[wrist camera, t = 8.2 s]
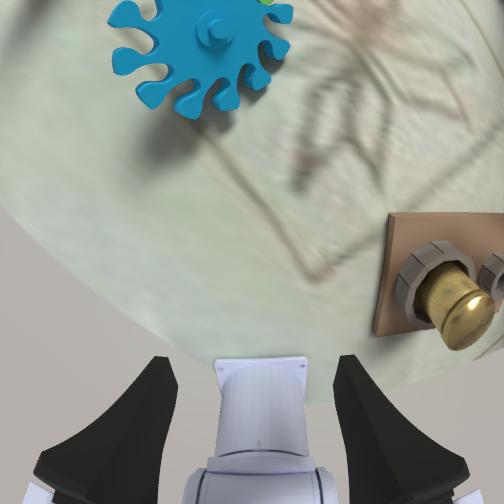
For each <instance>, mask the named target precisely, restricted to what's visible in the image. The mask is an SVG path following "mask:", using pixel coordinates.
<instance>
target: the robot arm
mask: <svg viewBox="0 0 504 504" xmlns="http://www.w3.org/2000/svg"><path fill="white" fill-rule="evenodd" d="M214 368H215V372H216V376H217V380H218V384H219V388H220V391H221V396H222V402H221V410H220V417H219V425H218V432H217V440H216V448H215V455H214V457H209V458H208V463H207V469H206V468H199V469H197V470H196V471H195V472H194V473H193V474H192V475H191V476H190V477H189V478H188V481H187V483H186V486H185V489H184V495H183V501H182V504H338V496H337V490H336V485H335V481H334V478H333V476H332V474H330V473H329V472H328V471H326V469H325V468H324V467H319V468H315V462H314V457H309V451H308V440H307V430H306V423H305V422H306V421H305V413H304V402H305V391H306V380H307V368H308V359H307V357H305V356H294V357H277V358H252V359H217V360H215V361H214ZM333 390H334V399H335V406H336V411H337V415H338V419H339V423H340V427H341V431H342V436H343V440H344V444H345V449H346V455H347V464H348V475H349V495H350V496H349V499H350V504H484V503H483V499H482V496H481V492H480V489H476V490H474V491H472V492H470V493H468V494H466V495H464V496H462V497H460V498H458V499H457V500H454V501H453V502H452V498H451V497H452V496H454V491H453V488H455V487H457V486H458V485H460V484H461V483H463V482H464V481H465V480H467V479H468V478H469V476H470V473H469V470H468V467H467V464H466V462H465V459H464V458H463V457H461V456H459V455H457V454H455V453H453V452H451V451H449V450H447V449H445V448H444V447H442V446H440V445H439V444H438V443H436V442H435V441H433V440H432V439H431V438H429V437H428V436H427V435H425V434H424V433H423V432H421V431H420V430H419V429H417V428H416V427H415V426H414V425H413V424H412V423H411V422H409V421H408V420H407V419H406V418H405V417H404V416H403V415H402V414H401V413H400V412H399V411H398V410H397V409H396V408H395V406H394V405H393V404H392V403H391V402H390V401H389V400H388V399H387V397H386V396H385V395H384V394H383V393H382V391H381V390H380V389H379V388H378V386H377V385H376V384H375V382H374V381H373V380H372V378H371V377H370V376H369V374H368V373H367V372H366V370H365V369H364V367H363V366H362V364H361V363H360V362H359V360H358V359H357V357H356V356H355V355H344V356H340V359H339V363H338V367H337V371H336V375H335V379H334V383H333ZM177 391H178V384H177V381H176V379H175V376H174V373H173V370H172V368H171V364H170V362H169V359H168V357H158V356H155V357H154V358H153V359H152V360H151V361H150V363H149V364H148V365H147V366H146V367H145V369H144V370H143V371H142V372H141V374H140V375H139V376H138V377H137V378H136V380H135V381H134V382H133V383H132V384H131V386H130V387H129V388H128V389H127V390H126V391H125V392H124V393H123V394H122V396H121V397H120V398H119V399H118V400H117V401H116V402H115V403H114V404H113V405H112V406H111V407H110V408H109V409H108V410H107V411H106V412H104V413H103V414H102V415H101V416H100V417H99V418H98V419H96V420H95V421H94V422H93V423H91V424H90V425H89V426H87V427H86V428H85V429H83V430H82V431H80V432H79V433H77V434H76V435H74V436H72V437H71V438H69V439H67V440H66V441H64V442H62V443H60V444H58V445H56V446H54V447H52V448H49V449H47V450H45V451H42V452H41V455H40V457H39V459H38V461H37V464H36V466H35V469H34V471H33V473H34V475H35V476H36V477H37V478H39V479H40V480H42V481H43V482H44V483H46V484H47V485H49V486H51V487H52V488H54V489H55V493H54V494H53V493H52V492H50V491H48V490H46V489H44V488H43V487H41V486H39V485H37V484H35V483H34V482H30V484H29V487H28V490H27V492H26V495H25V498H24V501H23V504H157V501H158V484H159V474H160V466H161V459H162V453H163V448H164V444H165V440H166V437H167V433H168V430H169V426H170V423H171V419H172V416H173V412H174V408H175V404H176V398H177Z"/></svg>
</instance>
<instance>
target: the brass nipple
mask: <svg viewBox="0 0 504 504" xmlns="http://www.w3.org/2000/svg"><path fill="white" fill-rule="evenodd" d="M414 297H415V299H416V300H417V301H418V303H419V304H420V305H421V307H422V308H423V309H424V311H425V312H426V314H427V315H428V316H429V318H430V319H431V321H432V322H433V323H434V325H435V326H436V328H437V329H438V331H439V332H440V334H441V337H442V339H443V341H444V342H445V344H446V345H447V347H448V348H449V349H450V350H453V351H459V350H462V349H465V348H467V347H469V346H470V345H472V344H473V343H475V342H476V341H477V340H478V339H479V338H480V337H481V336H482V335H483V334H484V333H485V331H486V330H487V329H488V327H489V325H490V324H491V322H492V320H493V317H494V314H495V308H496V306H495V301H494V300H493V298H492V297H491V296H490V295H489V294H488V293H487V292H486V291H484V290H482V289H481V288H480V287H479V286H478V285H477V284H476V283H475V282H473V281H472V280H471V279H470V278H469V277H468V276H467V275H466V274H465V273H464V272H463V271H462V270H461V269H460V268H459V267H458V266H456V265H455V264H454V263H453V262H452V261H451V260H450V261H443V262H442V263H440V264H439V265H437V266H436V267H435V268H433V269H432V270H430V271H429V272H428V273H427V274H426V276H425V277H424V279H423V280H422V281H421V283H420V284H419V286H418V287H417V288H416V292H415V296H414Z"/></svg>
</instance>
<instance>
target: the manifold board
mask: <svg viewBox="0 0 504 504" xmlns="http://www.w3.org/2000/svg"><path fill="white" fill-rule="evenodd" d="M450 260H451V261H452V262H453V263H454V264H455V265H456V266H458V267H459V268H460V269H461V270H462V271H463V272H464V273H465V274H466V275H467V276H468V277H469V278H470V279H471V280H472V281H473V282H475V283H476V284H477V285H478V286H479V287H480V288H481V289H482V290H484V291H486V292H487V293H488V294H489V295H490V296H491V297H492V298H493V300H494V301H495V306H496V308H495V313H496V312H499V309H500V307H501V304H502V301H503V299H504V213H389V223H388V234H387V243H386V252H385V260H384V267H383V274H382V281H381V287H380V293H379V299H378V304H377V309H376V315H375V320H374V324H373V329H372V330H373V332H374V334H375V336H376V337H380V336H387V335H393V334H400V333H406V332H411V331H417V330H423V329H424V330H427V329H432V328H436V326H435V325H434V323H433V322H432V321H431V319H430V318H429V316H428V315H427V314H426V312H425V311H424V309H423V308H422V307H421V305H420V304H419V303H418V301H417V300H416V299H415V297H414V296H415V292H416V288H417V287H418V286H419V284H420V283H421V281H422V280H423V279H424V277H425V276H426V274H427V273H428V272H429V271H430V270H432V269H433V268H435V267H436V266H437V265H439V264H440V263H442V262H443V261H450Z"/></svg>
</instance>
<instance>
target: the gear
mask: <svg viewBox="0 0 504 504" xmlns="http://www.w3.org/2000/svg"><path fill="white" fill-rule="evenodd" d="M273 1H274V0H155V3H156V7H157V14H156V16H155V18H154V19H152V20H151V21H145V20H144V19H143V18H142V17H141V15H140V11H139V8H138V6H137V5H136V3H134V2H132V1H128V0H127V1H122V2H120V3H119V4H118V5H117V6H116V7H115V9H114V10H113V11H112V13H111V15H110V17H109V19H108V22H107V23H108V25H110V26H111V27H114V28H122V27H133V28H137V29H140V30H142V31H143V32H145V33H146V34H148V35H149V36H150V37H151V38H152V39H153V41H154V46H153V48H152V50H151V51H150V52H149V53H147V54H145V55H141V54H139V53H138V52H137V51H135V50H133V49H131V48H126V47H121V48H118V49H116V50H114V51H113V55H112V66H113V71H114V73H115V74H117V75H128V74H130V73H132V72H133V71H134V70H136V69H137V68H139V67H141V66H144V65H147V64H152V63H163V64H166V65H167V66H168V74H167V76H166V77H165V78H164V79H163V80H161V81H145V82H143V83H141V84H139V85H138V86H137V88H136V89H135V91H136V94H137V96H138V98H139V99H140V100H141V101H142V102H143V103H144V104H145V105H146V106H147V107H149V108H150V109H154V108H156V107H158V106H159V105H160V104H161V103H162V102H163V100H164V98H165V96H166V95H167V94H168V92H169V91H170V90H171V89H172V88H174V87H175V86H176V85H178V84H180V83H182V82H184V81H186V80H189V79H192V78H193V80H194V87H193V89H192V90H191V91H190V92H188V93H186V94H184V95H182V96H180V97H178V98H177V99H176V100H175V102H174V104H173V109H174V110H175V111H176V112H178V113H179V114H181V115H182V116H184V117H187V118H190V119H197V118H198V117H199V116H200V114H201V112H202V104H203V99H204V97H205V94H206V93H207V91H208V89H209V88H210V87H211V86H212V84H213V83H214V82H215V81H216V80H217V79H219V78H222V86H221V87H220V89H219V90H218V91H217V92H216V93H215V94H214V96H213V99H212V104H213V106H214V107H216V108H218V109H219V110H222V111H229V110H234V109H237V108H238V107H239V105H240V97H239V95H238V92H237V79H238V75H239V72H240V69H241V67H242V66H243V65H244V64H246V65H247V71H246V74H245V77H244V83H245V85H246V86H247V87H249V88H251V89H254V90H256V91H257V90H260V89H262V88H264V87H265V86H266V85H268V84H269V83H270V82H271V76H270V74H269V73H268V72H267V71H265V70H264V68H263V67H262V66H261V64H260V61H259V58H258V51H257V47H258V44H259V43H260V42H261V41H262V42H263V46H264V52H265V54H266V55H267V56H269V57H272V58H275V59H279V60H281V59H282V58H283V57H284V56H285V55H286V53H287V52H288V50H289V48H290V44H289V42H288V41H286V40H283V39H278V38H276V37H274V36H273V35H271V34H270V33H269V32H268V30H267V29H266V28H265V26H264V25H263V17H264V16H265V15H266V14H267V16H268V17H269V18H270V20H271V21H273V22H275V23H282V24H290V23H291V21H292V17H293V7H292V6H291V5H289V4H273V5H270V6H267V5H269V4H271V3H272V2H273Z"/></svg>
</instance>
